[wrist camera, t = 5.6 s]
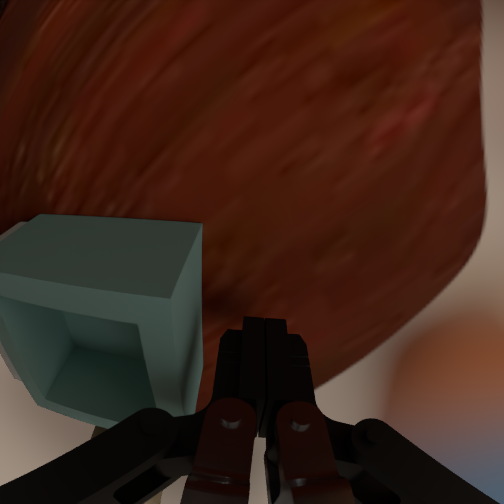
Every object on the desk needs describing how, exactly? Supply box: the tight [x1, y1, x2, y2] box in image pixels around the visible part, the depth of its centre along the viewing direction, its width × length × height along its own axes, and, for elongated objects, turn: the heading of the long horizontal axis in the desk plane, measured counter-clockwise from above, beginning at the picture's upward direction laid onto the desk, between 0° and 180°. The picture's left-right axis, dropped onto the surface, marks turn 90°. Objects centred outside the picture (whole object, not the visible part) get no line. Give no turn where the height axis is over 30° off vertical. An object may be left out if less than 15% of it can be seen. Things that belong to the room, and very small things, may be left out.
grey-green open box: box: [0, 214, 203, 429], centre depth 10 cm, size 7×7×4 cm
